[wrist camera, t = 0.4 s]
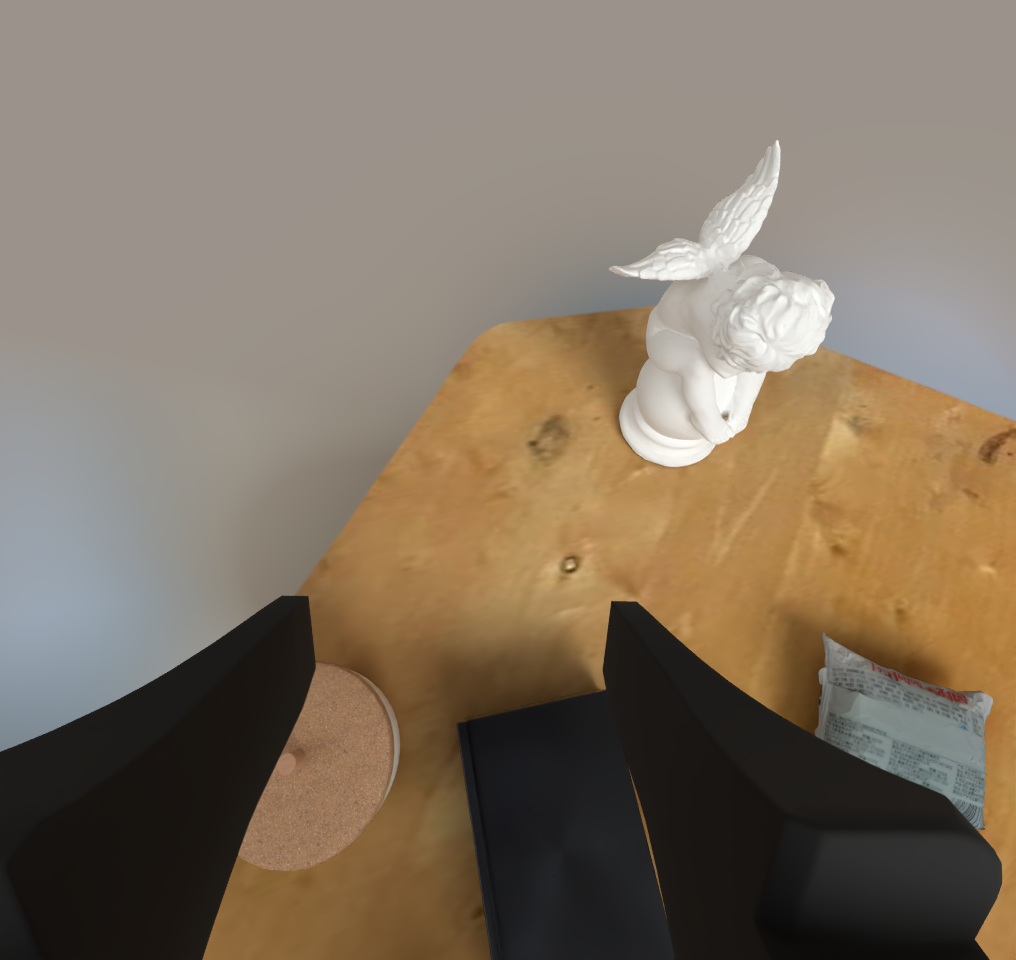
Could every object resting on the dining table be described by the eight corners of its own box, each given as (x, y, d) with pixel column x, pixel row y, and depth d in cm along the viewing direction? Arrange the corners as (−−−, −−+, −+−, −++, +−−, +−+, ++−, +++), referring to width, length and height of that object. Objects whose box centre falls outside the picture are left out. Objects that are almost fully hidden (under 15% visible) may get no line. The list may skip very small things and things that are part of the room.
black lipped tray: (665, 960, 32) (694, 1013, 27) (507, 1000, 32) (506, 1063, 26) (598, 689, 38) (612, 689, 33) (464, 718, 38) (456, 723, 32)
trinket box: (250, 699, 38) (172, 702, 30) (390, 643, 40) (356, 631, 31) (280, 862, 34) (202, 922, 26) (434, 795, 36) (409, 830, 27)
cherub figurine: (717, 488, 44) (894, 314, 24) (570, 471, 45) (619, 289, 24) (714, 367, 48) (861, 132, 28) (581, 353, 49) (629, 115, 29)
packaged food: (805, 635, 39) (843, 629, 35) (970, 696, 38) (1033, 699, 33) (783, 755, 37) (822, 766, 32) (961, 827, 35) (1029, 850, 30)
